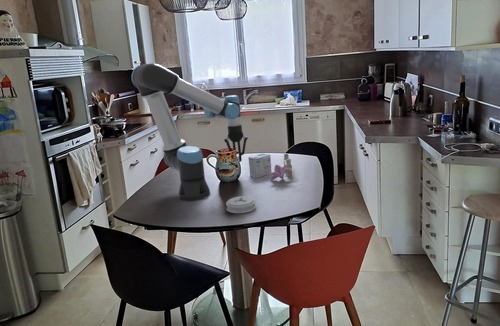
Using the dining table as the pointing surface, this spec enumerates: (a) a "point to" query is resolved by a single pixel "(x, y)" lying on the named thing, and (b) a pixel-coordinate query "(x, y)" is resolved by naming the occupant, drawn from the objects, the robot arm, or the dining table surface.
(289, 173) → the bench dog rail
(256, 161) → the light bulb box
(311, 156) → the dining table surface
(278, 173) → the lily
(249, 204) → the lid
